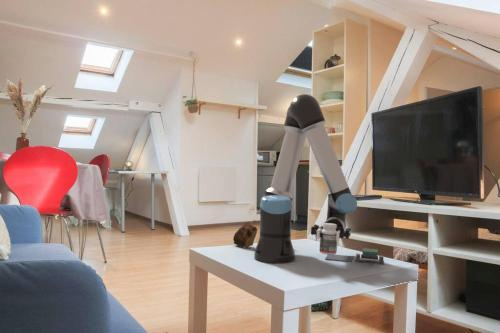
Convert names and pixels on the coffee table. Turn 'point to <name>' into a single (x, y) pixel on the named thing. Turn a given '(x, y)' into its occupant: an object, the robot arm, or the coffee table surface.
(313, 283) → the coffee table surface
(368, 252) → the switch paddle
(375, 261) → the switch base
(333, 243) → the pill bottle
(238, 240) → the decorative rock
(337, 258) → the coaster
